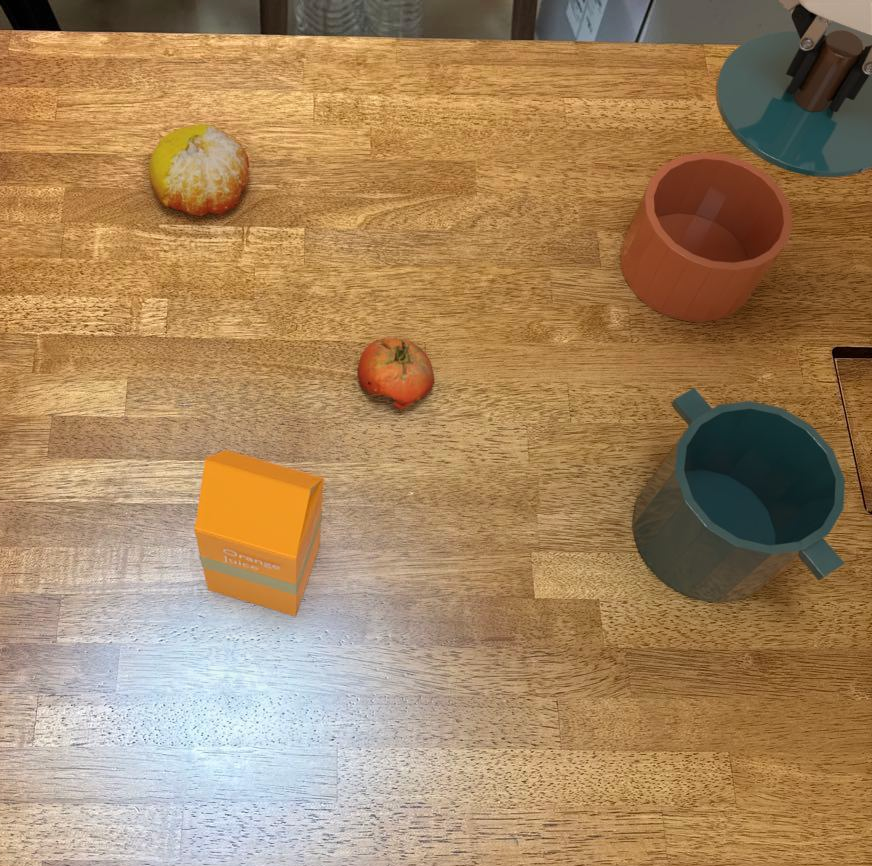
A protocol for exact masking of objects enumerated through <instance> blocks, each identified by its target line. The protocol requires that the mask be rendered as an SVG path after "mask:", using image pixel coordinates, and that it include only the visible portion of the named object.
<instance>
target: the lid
mask: <svg viewBox="0 0 872 866" xmlns="http://www.w3.org/2000/svg"><path fill="white" fill-rule="evenodd" d="M825 36H826V37H825V39H824V41H823V43H822V45H821V47H820V50H819V52H818V54H817V56H816V58H815V60H814V62H813V64H812V65H811V67H810V69H809V71H808V72H807V74H806V76H805V78H804V79H803V81H802V83H801V85H800V86H799V88H798V90H797V92H796V93H795V94H794V93H793V94H792V95H791V94H788V93H786V91H787V89H788V87H789V85H790V83H791V81H792V79H793V77H792V76H789V75H787V74H786V72H787V70H788V68H789V66H790V64H791V62H792V60H793V59H794V57H795V55H796V53H797V51H798V49H799V48H800V46H799V42H800V40H801V39H800V37H799V35H798V32H797V30H783V31H774V32H769V33H768V32H767V33H764V34H762V35H761V34H760V35H758V36H756V37H753V38H751V39H749V40H747V41H745V42H743V43H742V44H740V45H739V46H738V47H736V48H735V49H734V50H733V51H732V52H731V53H730V54H729V55H728V56H727V57H726V59H725V61H724V62H723V64H722V66H721V68H720V70H719V72H718V75H717V78H716V82H715V101H716V106H717V109H718V112H719V115H720V117H721V119H722V121H723V123H724V124H725V127H726V128H727V129H728V130H729V132H730V133H731V134H732V135H733V136H734V138H735V139H736V140H737V141H738V142H739V143H740V144H741V145H742V146H743V147H745V148H746V149H747V150H748V151H750V152H751V153H752V154H754V155H755V156H756V157H758V158H759V159H760V158H761V160H763V161H765V162H766V163H769V164H771V165H773V166H775V167H777V168H780V169H783V170H785V171H789V172H791V173H795V174H798V175H803V176H808V177H815V178H843V177H847V176H854V175H857V174H860V173H863V172H866V171H868V170H871V169H872V75H869V77H868V79H867V80H866V82H865V83H864V85H863V86H862V88H861V89H860V91H859V93H858V94H857V96H856V97H855V99H854V100H851V99H848V98H846V99H845V100H844V102H843V103H842V105H841V107H840V108H839V110H838V111H837V112H834V111H832V110H831V108H829V107H830V105H831V102H832V100H833V98H834V97H835V95H836V94H837V92H838V90H839V89H840V87H841V85H842V84H843V82H844V81H845V79H846V77H847V76H848V74H849V72H850V71H851V69H852V68H853V66H854V64H855V63H856V62H857V60H858V58H859V57H860V55H861V53H862V52H863V50H864V43H863V41H862V39H861V37H859V36H858V35H857V34H855V33H854V32H851V31H849V30H846V29H836V30H833V31H830V32H829V33H828V34H827V35H825Z"/></svg>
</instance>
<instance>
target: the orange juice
mask: <svg viewBox="0 0 872 866" xmlns="http://www.w3.org/2000/svg"><path fill="white" fill-rule="evenodd" d="M323 493H324V477H321V476H317V475H314V474H311V473H307V472H304V471H301V470H297V469H294V468H290V467H288V466H287V467H286V466H283V465H279V464H276V463H273V462H269V461H265V460H262V459H259V458H256V457H251V456H249V455H246V454H242V453H238V452H235V451H231V450H227V449H224V450H222V451H220V452H218V453H214V454H211V455H210V456H206V457H205V458H204V465H203V473H202V478H201V486H200V493H199V499H198V504H197V505H198V506H197V512H196V518H195V524H194V527H193V530H194V535H195V539H196V544H197V548H198V552H199V560H200V564H201V567H202V571H203V574H204V578H205V583H206V587H207V591H210V592H214V593H217V594H221V595H223V596H227V597H231V598H234V599H237V600H240V601H243V602H246V603H250V604H253V605H257V606H260V607H264V608H266V609H270V610H273V611H276V612H280V613H283V614H286V615H290V616H293V617H297V614H298V612H299V609H300V606H301V602H302V599H303V597H304V593H305V592H306V588H307V585H308V582H309V579H310V576H311V573H312V570H313V567H314V564H315V561H316V558H317V555H318V552H319V549H320V546H321V528H322V519H323V497H324V496H323V495H324V494H323Z"/></svg>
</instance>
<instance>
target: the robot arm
mask: <svg viewBox="0 0 872 866" xmlns="http://www.w3.org/2000/svg"><path fill="white" fill-rule="evenodd" d="M777 1H778V2H779V4H780V5H781V6H782V7H783V9H785V11H787V12H789V13H790V16H791V20H792V23H793V24H794V25H793V26H794V27H795V31H797V32H798V35H799V37H800V39H801V40H800V42H799V46H800V48H799V49H798V51H797V53H796V55H795V57H794V59H793V60H792V62H791V64H790V66H789V68H788V70H787V72H786V74H787V75H789V76H792V77H793V79H792V81H791V83H790V85H789V87H788V89H787V91H786V93H788V94H791V95H792V94H793V93H794V94H795V93H796V92H797V90H798V88H799V86H800V85H801V83H802V81H803V79H804V78H805V76H806V74H807V72H808V71H809V69H810V67H811V65H812V64H813V62H814V60H815V58H816V56H817V54H818V52H819V50H820V47H821V45H822V43H823V41H824V39H825V37H826V36H827V35H825V34H826V32H827V30H828V29H829V27H830V26H831V24H832V23H833V22H834V23H836V24H839V25H843V26H845V27H848V28H850V29H853V30H855V31H858V32H861V33H863V34H867V35H869V36H871V37H872V0H777ZM869 75H872V44H871V45H867V46H865V47H863V52H862V53H861V55H860V57H859V58H858V60H857V62H856V63H855V64H854V66H853V68H852V69H851V71H850V72H849V74H848V76H847V77H846V79H845V81H844V82H843V84H842V85H841V87H840V89H839V90H838V92H837V94H836V95H835V97H834V98H833V100H832V102H831V105H830V107H829V108H831V110H832V111H834V112H837V111H838V110H839V108H840V107H841V105H842V103H843V102H844V100H845V99H846V98H848V99H851V100H854V99H855V97H856V96H857V94H858V93H859V91H860V89H861V88H862V86H863V85H864V83H865V82H866V80H867V79H868V77H869Z"/></svg>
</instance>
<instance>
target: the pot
mask: <svg viewBox="0 0 872 866" xmlns="http://www.w3.org/2000/svg"><path fill="white" fill-rule="evenodd" d="M670 405H671V407H672V408H673V409H674V410H675V411H676V412H677V414H678V415H679V416H680V418H681V419H682V420H683V421H684V422H685V423H686V425H687V426H688V427H686V429H685V430H684V432H683V433H682V435H681V436H680V437H679V438H678V440H677V441H676V442H675V444H674V445H673V447H672V448H671V450H670V451H669V452H668V454H667V455H666V456H665V458H664V459H663V461H662V462H661V464H660V465H659V466H658V468H657V469H656V470H655V472H654V473H653V475H652V476H651V478H650V479H649V480H648V481H647V484H646V485H645V486H644V488H643V489H642V491H641V492H640V494H639V495H638V497H637V498H636V500H635V505H634V509H633V514H632V533H633V537H634V538H633V539H634V542H635V544H636V548H637V550H638V552H639V554H640V556H641V558H642V560H643V561H644V563H645V564H646V566H647V567H648V568H649V570H650V571H651V572H652V573H653V574H654V575H655V576H656V577H657V578H658V579H659V580H660V581H661V582H662V583H663V584H665V585H666V586H668V587H669V588H671V589H672V590H674V591H676V592H677V593H679V594H681V595H684V596H687V597H689V598H692V599H696V600H698V601H703V602H709V603H727V602H733V601H738V600H741V599H745V598H748V597H750V596H751V595H753V594H754V593H756V592H758V591H759V590H761V589H762V588H764V587H765V586H768V584H770V583H771V582H772V581H774V579H776V578H777V577H779V575H781V574H782V573H783V572H784V571H785V570H787V569H788V568H790V567H791V566H792V565H793V564H794V563H795V562H796V561H798V560H799V559H800V561H801V562H802V563H803V564H804V565H805V567H806V568H807V569H808V570H809V571H810V573H811V574H812V575H813V576H814V577H815V579H816V580H818V581H821V580H823V579H824V578H826V577H827V576H829V575H830V574H832V573H833V572H835V571H836V570H838V569H840V568H842V566H844V565H845V562H844V560H843V559H842V558H841V557H840V556H839V554H837V553H836V551H835V550H834V549H833V548H832V546H831V545H830V544H829V543H828V542H827V540H826V539H825V538H826V537H828V535H830V533H831V532H832V530H833V528H834V526H835V525H836V523H837V521H838V519H839V518H840V516H841V514H842V513H843V510H844V509H845V487H846V486H845V485H846V479H845V476H844V474H843V471H842V469H841V466H840V463H839V461H838V458H837V456H836V453H835V451H834V449H833V448H832V447H831V446H830V445H829V443H828V442H827V441H826V440H825V439H824V437H823V436H821V434H820V433H819V432H818V431H817V430H816V429H815V428H814V426H813V425H811V424H810V423H808V422H807V421H805V420H803V419H801V418H800V417H798V416H797V415H794V414H793V413H791V412H790V411H788V410H787V409H785V408H783V407H780V406H774V405H770V404H767V403H761V402H756V401H753V400H752V401H751V400H746V401H737V402H730V403H721V404H718V405H716V406H714V407H712V406H711V405H710V404H709V403H708V402H707V401H706V400H705V398H704V397H703V396H702V395H701V394H700V392H698V390H697V389H696V388H695V387H694V388H691V389H690V390H688V391H686V392H684V393H682V394H680V395H679V396H677V397H675V398H674V399H673V401H672V402H671V404H670Z"/></svg>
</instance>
